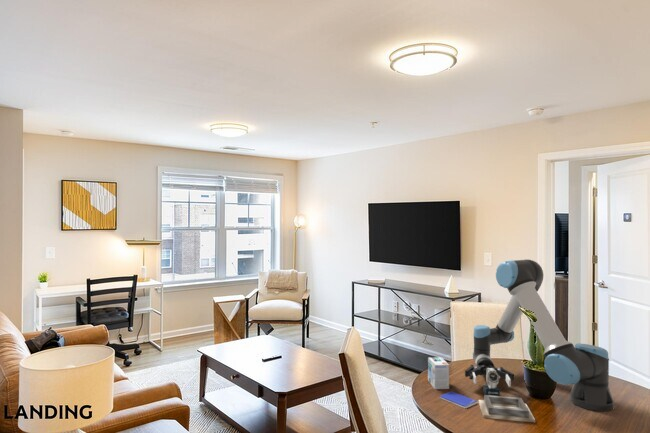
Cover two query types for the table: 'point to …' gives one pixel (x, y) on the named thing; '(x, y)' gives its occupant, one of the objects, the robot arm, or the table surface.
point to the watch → (491, 383)
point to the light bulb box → (438, 373)
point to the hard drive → (458, 399)
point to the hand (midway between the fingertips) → (492, 382)
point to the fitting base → (505, 408)
